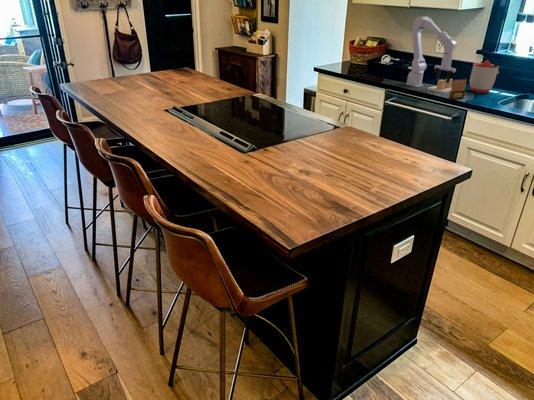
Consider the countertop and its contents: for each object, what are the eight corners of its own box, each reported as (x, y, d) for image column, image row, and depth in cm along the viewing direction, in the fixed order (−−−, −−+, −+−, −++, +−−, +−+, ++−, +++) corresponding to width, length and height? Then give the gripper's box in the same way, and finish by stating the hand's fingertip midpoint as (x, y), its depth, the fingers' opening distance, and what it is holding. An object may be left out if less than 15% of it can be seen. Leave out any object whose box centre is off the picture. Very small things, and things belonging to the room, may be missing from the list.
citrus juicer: (499, 94, 275) (508, 62, 266) (473, 93, 274) (482, 62, 265) (486, 88, 289) (494, 58, 280) (462, 88, 288) (469, 57, 279)
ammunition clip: (461, 97, 264) (465, 78, 258) (463, 98, 262) (468, 79, 257) (448, 99, 260) (452, 79, 254) (450, 100, 259) (454, 80, 253)
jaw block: (436, 90, 280) (438, 80, 276) (439, 90, 281) (441, 79, 278) (440, 91, 277) (442, 81, 274) (443, 91, 279) (446, 80, 276)
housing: (427, 89, 282) (430, 78, 279) (441, 87, 289) (443, 76, 286) (444, 93, 272) (446, 82, 269) (457, 91, 279) (460, 80, 276)
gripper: (433, 58, 274) (429, 79, 280) (452, 62, 263) (447, 84, 269) (440, 57, 277) (435, 78, 283) (459, 61, 266) (454, 83, 273)
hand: (442, 81), depth 277 cm, fingers open, 7 cm apart
